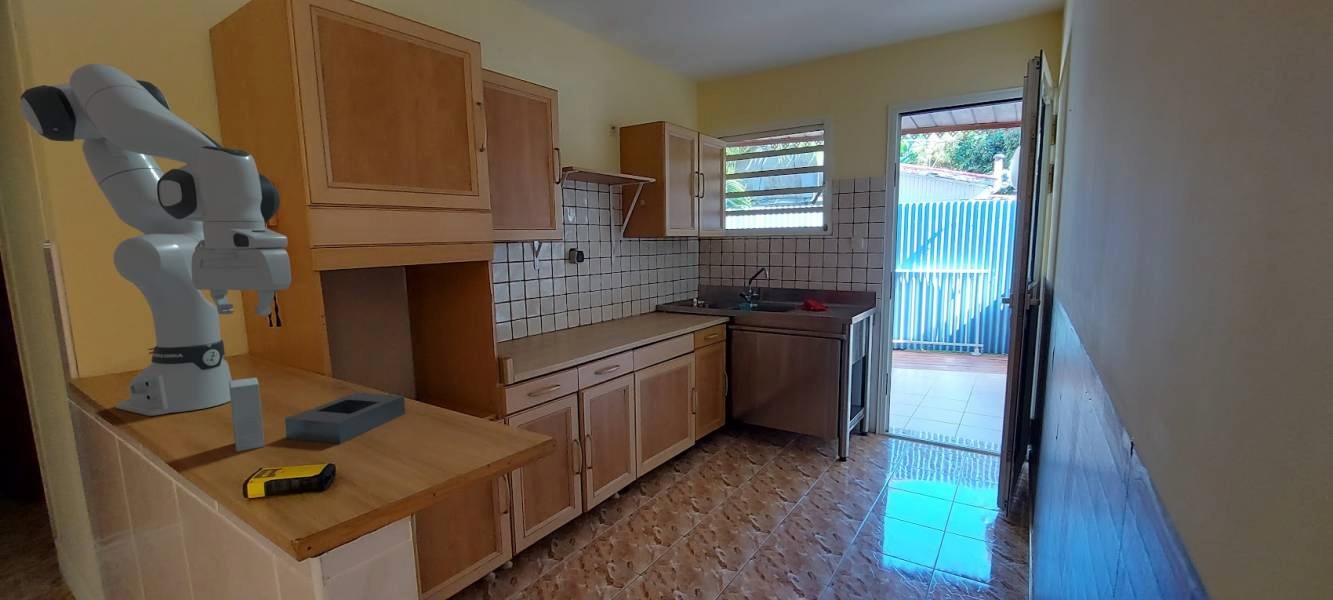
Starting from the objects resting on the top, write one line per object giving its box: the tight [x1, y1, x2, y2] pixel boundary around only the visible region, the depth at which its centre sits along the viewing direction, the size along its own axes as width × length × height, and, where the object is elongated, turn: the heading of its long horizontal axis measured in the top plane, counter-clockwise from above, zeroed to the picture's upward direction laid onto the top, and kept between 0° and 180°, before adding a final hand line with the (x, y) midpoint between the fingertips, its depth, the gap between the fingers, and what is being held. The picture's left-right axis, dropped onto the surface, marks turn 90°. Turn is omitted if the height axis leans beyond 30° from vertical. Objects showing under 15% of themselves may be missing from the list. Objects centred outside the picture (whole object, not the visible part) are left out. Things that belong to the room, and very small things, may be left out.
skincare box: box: [229, 377, 265, 453], centre depth 100 cm, size 6×4×12 cm
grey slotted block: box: [284, 392, 406, 445], centre depth 111 cm, size 12×18×4 cm, turn 168°
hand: (244, 314), depth 99 cm, fingers open, 8 cm apart
